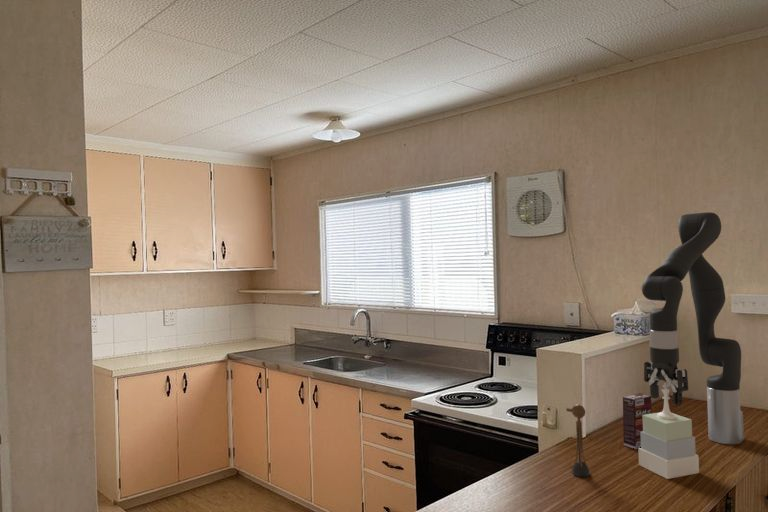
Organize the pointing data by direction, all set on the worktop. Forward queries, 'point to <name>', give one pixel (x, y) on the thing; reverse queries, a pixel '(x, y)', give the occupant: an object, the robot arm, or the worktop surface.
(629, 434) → the supplement box
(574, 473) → the wooden tabletop sculpture
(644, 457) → the brick tower
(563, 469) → the worktop surface
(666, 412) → the chess piece
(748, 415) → the worktop surface
